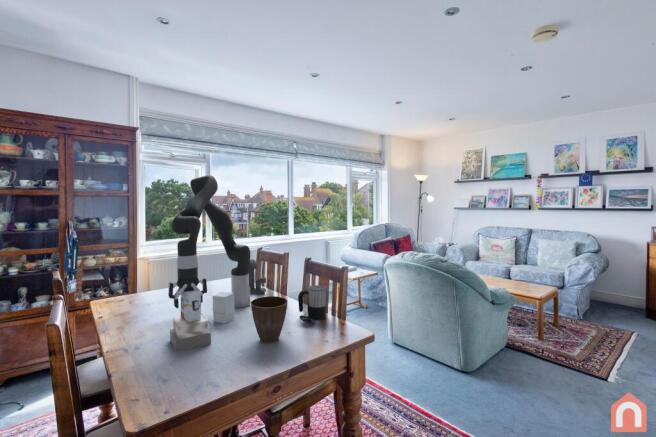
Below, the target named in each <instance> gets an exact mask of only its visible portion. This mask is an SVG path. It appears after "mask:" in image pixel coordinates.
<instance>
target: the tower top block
mask: <svg viewBox="0 0 656 437" xmlns="http://www.w3.org/2000/svg"><path fill="white" fill-rule="evenodd" d="M172 321H173V322H172V323H173V326H172V327H173V329H174V332H175V334H176V336H177V338H178V340H179V339H183V338H188V337H193V336H197V335H202V334H207V333H208V330H209V327H208V326H209V321H208V319H207V318H206V317H205V315H203V313H202V312H201V320H197V321H193V322H188V321H186V320H185V319H183V318H181V316H178V317H173V320H172Z"/></svg>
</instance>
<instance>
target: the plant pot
mask: <svg viewBox="0 0 656 437" xmlns="http://www.w3.org/2000/svg"><path fill="white" fill-rule="evenodd" d="M288 303H289V302H288V299H287V298H285V297H282V296H277V295H276V296H275V295H274V296H272V295H271V296H261V297H257V298H254V299H252V300H250V307H251V315H252V318H253V323H254V327H255V330H256V332H257V335H258V338H259V341H260V342H261V343H264V344H274V343H276V342H278V341H279V339H280V337H281V336H280V335H281V333H282V330H283V327H284V324H285V319H286V315H287V310H288Z"/></svg>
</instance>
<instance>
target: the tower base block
mask: <svg viewBox="0 0 656 437" xmlns="http://www.w3.org/2000/svg"><path fill="white" fill-rule="evenodd" d="M169 337H170V338H169V339H170V343H171V345H172V348H173V349H174V351H175V353H178V352H183V351H187V350H191V349H195V348H200V347H205V346H209V345H211V344H212V332H211V331H210V330H209V329H208V333H207V334H202V335H197V336H193V337H188V338H183V339H179V340H178V338H177V336H176V334H175V332H174V328H170V329H169Z"/></svg>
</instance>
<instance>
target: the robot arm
mask: <svg viewBox="0 0 656 437" xmlns="http://www.w3.org/2000/svg"><path fill="white" fill-rule="evenodd" d="M190 188H191V191H192V193H193V196H192V197H191V198H190V199H189V200H188V202H187V203H186V205H185V208H184V209H183V210H181V211H180V212H179V213H178V214H177V215H176V216H174V218H173V219H172V222H171V229H172V231H173V232H174V234H176V235H189V237H188V238H187V239H182V240H179V241H178V242H177V246H176V247H177V248H176V249H177V260H176V265H177V266H176V268H177V271H176V272H177V281H176V282H172V281H169V282H168V293H167V294H168V298H169V299H173V306H174V308H176V309H179V308H180V307H179V303H180V302H179V297H181V294H182V292H186V291H192V290H194V289H195V290H200V289H199V287H198V285H199V283H200V284H201V285H202V290H200V291H201V304H202V303H203V302H204V298H203V295H204V294H207V293H208V285H207V283H208V282H207V279H206V278H205V277H202V278H199V271H198V270H199V269H198V268H199V267H198V266H199V263H198V253H197V252H198V251H197V250H198V249H197V247H198V246H197V242H198V238H199V234H200V230H201V227H202V226H201V225H202V223H201V220H200V218H201V217H202V214H203V212H205V213H206V215H207V217H208V219H209V221H210V223H211V225H212V227H213V229H214V231H215V232H216V233H217V235H218V238H219V239H220V242H221V243H222V245H223V247H224V251H225V253H226V256H227V257H228V259H229V260H230V261H233V262H237V265H236V267H233V268H231V270H230V273H231V274H230V283H231V284H230V285H231V286H230V287H231V289H230V290H231V292H230V293H234V309H235V308H236V309H238V308H239V309H241V308H246V307H249V306H251V294H250V288H249V269H250V260H251V249H250V247H249V245H245V244H237V242H236V241H235V239H234V237H233V230H234V223H233V221H232V219H231V217H230V215H229V213H228V212H227V210H225V209H224V208H222V207H221V206H218V205H217V204H216V203H214V202H213V201H212V200H211V199H212V198H213V197H214V196H215V195H216V193H217V191H218V189H219V188H218V181H217V179H216V178H215V176H213V174H207V175H203V176H200V177H196V178H195V177H194V178H192V179H191V180H190ZM176 286H177V287H178V288H177V289H176V292H175V293H174V289H175V287H176Z"/></svg>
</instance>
